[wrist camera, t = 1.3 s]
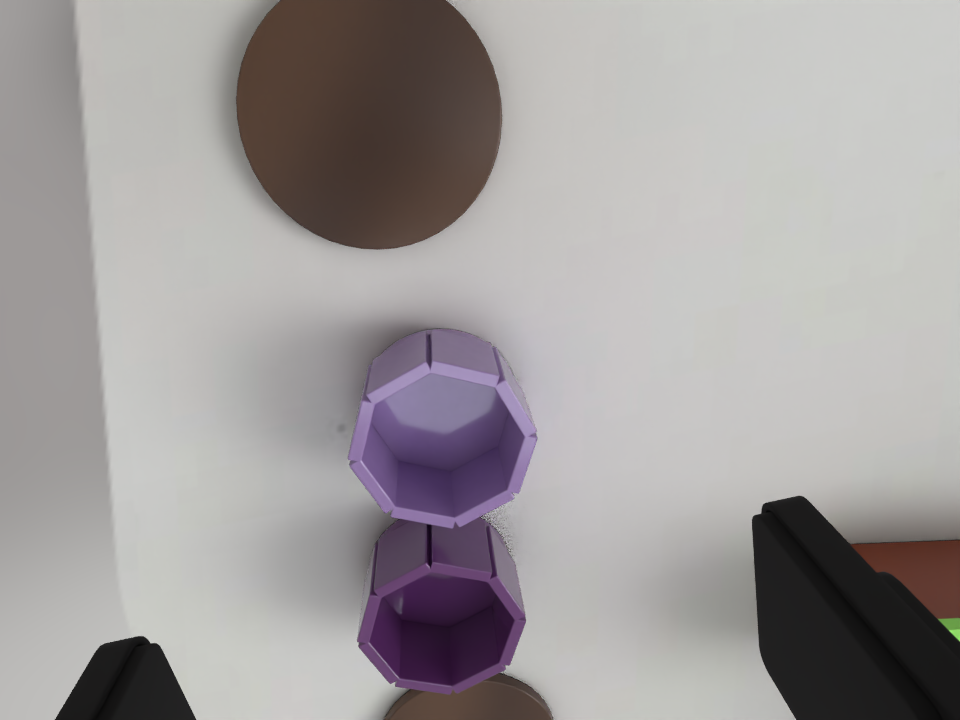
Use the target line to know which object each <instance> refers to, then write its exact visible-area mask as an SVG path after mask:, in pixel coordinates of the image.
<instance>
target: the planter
mask: <svg viewBox="0 0 960 720" xmlns="http://www.w3.org/2000/svg"><path fill="white" fill-rule="evenodd" d="M850 545H851V546H852V547H853V548H854V549H855V550H856V551H857V552H858V553H859V554H860V555H861V556H862V558H863V559H864V560H865V561H866V562H867V563H868V564H869V565H870V566H871V567H872V568H873V569H874V570H875V571H876V572H877V573H878V572H883V571H884V572H887V573H890V574H892V575H893V576H895V577H896V578H897V579H898V580H899V581H901V582H902V583H903V584H904V585H905V586H906V587H907V588H908V589H909V590H910V591H911V592H912V593H913V594H914V596H915V597H916V598H917V599H918V600H919V601H920V602H921V603H922V604H923V605H924V606H925V607H926V608H927V609H928V610H929V611H930V612H931V613H932V614H933V615H934V616H935V617H936V618H937V619H938V620H939V621H940V622H941V623H942V624H943V625H944V626H945V627H946V628H947V629H948V630H949V631H950V632H951V633H952V634H953V635H954V636H955V637H956V638H957V639H958V640H959V641H960V540H951V541H924V542H897V543H870V544H850Z"/></svg>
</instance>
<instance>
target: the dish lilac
mask: <svg viewBox="0 0 960 720" xmlns="http://www.w3.org/2000/svg"><path fill="white" fill-rule="evenodd" d="M536 432H537V430H536V427H535V424H534V421H533V418H532V415H531V412H530V409H529V406H528V403H527V400H526V397H525V394H524V392H523V391H522V389H521V387H520V386H519V384H518V382H517V381H516V379H515V377H514V375H513V372H512V370H511V368H510V366H509V365H508V363H507V362H506V360H505V359H504V358H503V356H502V355H501V354H500V352H499V351H498V349H497V347H494V348H493V347H492V346H491V343H490V342H485V341H484V340H482V339H480V338H478V337H476V336H474V335H472V334H469V333H465V332H462V331H457V330H452V329H431V330H424V331H420V332H416V333H414V334H411V335H408V336H406V337H404V338H402V339H400V340H398V341H397V342H395V343H394V344H392V345H390V346H389V347H388V348H387V349H386V350H385V351H384V352H382V354H381V355H380V356H378V357H376V358H375V359H373V362H372V365H369V366H368V370H367V374H366V378H365V382H364V386H363V391H362V395H361V399H360V404H359V408H358V412H357V416H356V421H355V426H354V430H353V435H352V440H351V445H350V449H349V454H348V460H350V464H349V466H350V468H351V469H352V470H353V472H354V473H355V474H356V476H357V477H358V478H359V480H360V481H361V482H362V484H363V485H364V486H365V488H366V489H367V490H368V492H369V493H370V494H371V496H372V497H373V498H374V499H375V501H376V502H377V503H378V505H379V506H380V507H381V509H382V510H383V511H384V513H387V512H389V511H391V515H390V516H391V517H393V518H399V519H404V520H409V521H415V522H420V523H425V524H431V525H436V526H441V527H447V528H453V527H454V524H455V522H456V524H457V525H458V526H459V527H461V526H463V525H465V524H467V523H469V522H471V521H473V520H475V519H477V518H478V517H480V516H482V515H484V514H486V513H488V512H490V511H492V510H494V509H496V508H497V507H499V506H501V505H503V504H505V503H507V502H509V501H511V500H513V499H514V494H513V493H519V492H520V489H521V486H522V483H523V480H524V477H525V474H526V471H527V468H528V465H529V462H530V459H531V456H532V453H533V451H534V448H535V445H536V442H537V435H536Z"/></svg>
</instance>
